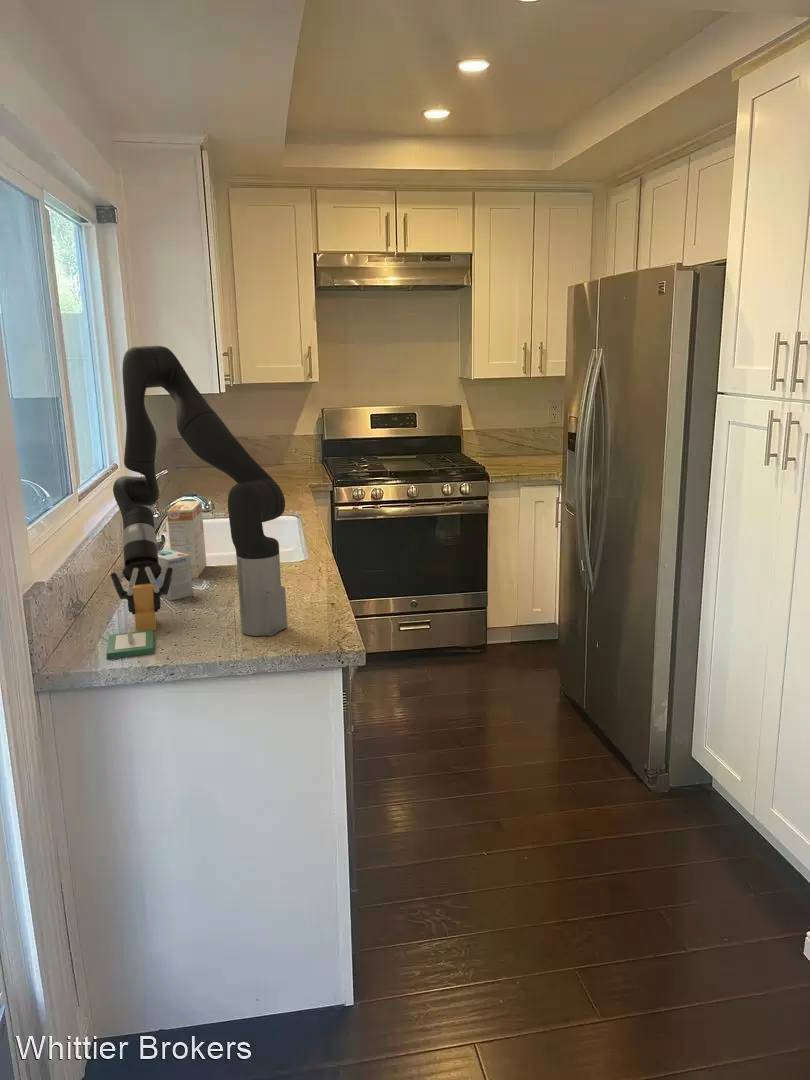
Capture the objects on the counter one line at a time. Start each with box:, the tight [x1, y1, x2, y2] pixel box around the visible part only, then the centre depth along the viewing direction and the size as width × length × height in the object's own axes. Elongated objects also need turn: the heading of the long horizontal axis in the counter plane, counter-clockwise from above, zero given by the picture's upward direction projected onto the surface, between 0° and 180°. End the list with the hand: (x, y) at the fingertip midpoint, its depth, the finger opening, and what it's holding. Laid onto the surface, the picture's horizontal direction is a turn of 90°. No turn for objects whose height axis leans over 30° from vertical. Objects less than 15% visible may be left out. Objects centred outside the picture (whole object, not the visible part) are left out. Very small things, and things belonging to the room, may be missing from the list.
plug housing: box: [133, 584, 157, 632], centre depth 175 cm, size 10×4×10 cm, turn 18°
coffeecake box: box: [166, 500, 208, 580], centre depth 219 cm, size 15×7×20 cm, turn 4°
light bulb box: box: [156, 548, 194, 601], centre depth 199 cm, size 11×7×11 cm, turn 47°
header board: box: [106, 626, 155, 660], centre depth 162 cm, size 12×9×4 cm
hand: (144, 611), depth 172 cm, fingers closed on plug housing, 4 cm apart
